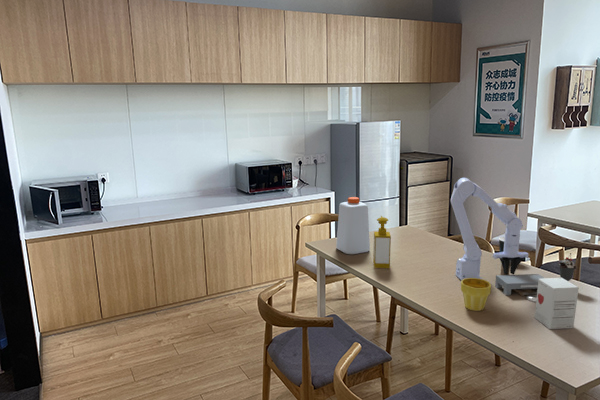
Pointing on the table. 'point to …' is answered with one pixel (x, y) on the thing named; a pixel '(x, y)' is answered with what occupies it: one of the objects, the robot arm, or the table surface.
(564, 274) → the sundae
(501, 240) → the dixie cup
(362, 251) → the plastic bottle
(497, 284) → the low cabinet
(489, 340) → the table surface
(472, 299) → the plant pot
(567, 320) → the supplement box
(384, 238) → the soap bottle
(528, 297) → the steel disc
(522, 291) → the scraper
